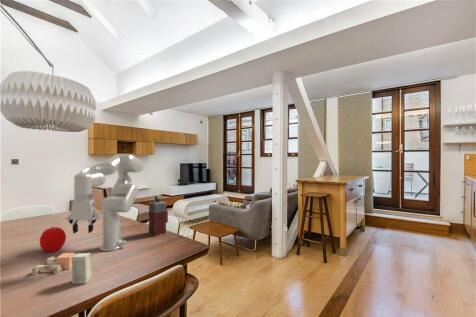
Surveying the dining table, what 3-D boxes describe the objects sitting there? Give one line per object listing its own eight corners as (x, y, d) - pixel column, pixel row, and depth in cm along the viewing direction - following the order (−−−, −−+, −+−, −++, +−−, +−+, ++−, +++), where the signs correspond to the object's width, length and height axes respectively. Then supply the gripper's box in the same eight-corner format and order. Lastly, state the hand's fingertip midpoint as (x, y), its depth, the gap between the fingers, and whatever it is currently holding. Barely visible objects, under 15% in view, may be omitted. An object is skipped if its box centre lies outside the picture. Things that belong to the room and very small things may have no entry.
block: (75, 264, 123) (75, 252, 123) (69, 269, 117) (69, 257, 117) (62, 264, 122) (62, 253, 122) (56, 269, 117) (56, 257, 117)
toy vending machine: (168, 232, 174) (169, 195, 174) (155, 236, 165) (155, 197, 165) (162, 230, 180) (162, 193, 180) (148, 233, 171) (148, 195, 171)
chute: (73, 260, 127) (73, 255, 127) (57, 273, 113) (57, 267, 113) (51, 261, 125) (51, 256, 125) (32, 275, 111) (32, 268, 111)
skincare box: (91, 278, 108) (91, 252, 108) (86, 284, 104) (86, 256, 104) (77, 279, 108) (77, 252, 108) (71, 284, 104) (71, 256, 104)
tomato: (35, 255, 133) (35, 230, 133) (45, 247, 144) (45, 224, 144) (60, 252, 137) (60, 228, 137) (69, 245, 148) (69, 223, 148)
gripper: (104, 196, 126) (104, 229, 126) (68, 196, 123) (68, 230, 123) (97, 198, 118) (97, 234, 118) (60, 199, 116) (60, 235, 116)
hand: (83, 232), depth 121 cm, fingers open, 6 cm apart
